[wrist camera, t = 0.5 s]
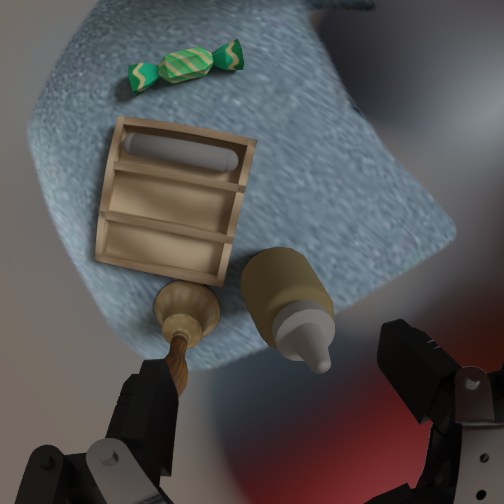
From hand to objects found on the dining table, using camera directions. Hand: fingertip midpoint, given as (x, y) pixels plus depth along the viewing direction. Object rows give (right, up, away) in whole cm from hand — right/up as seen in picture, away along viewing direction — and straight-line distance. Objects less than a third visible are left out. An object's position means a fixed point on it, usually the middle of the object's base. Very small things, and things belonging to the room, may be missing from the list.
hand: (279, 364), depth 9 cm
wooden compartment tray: (-10, +10, +20) cm, 25 cm away
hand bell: (-9, -3, +24) cm, 26 cm away
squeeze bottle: (+1, +2, +24) cm, 24 cm away
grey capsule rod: (-8, +14, +18) cm, 25 cm away
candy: (-8, +25, +17) cm, 31 cm away
